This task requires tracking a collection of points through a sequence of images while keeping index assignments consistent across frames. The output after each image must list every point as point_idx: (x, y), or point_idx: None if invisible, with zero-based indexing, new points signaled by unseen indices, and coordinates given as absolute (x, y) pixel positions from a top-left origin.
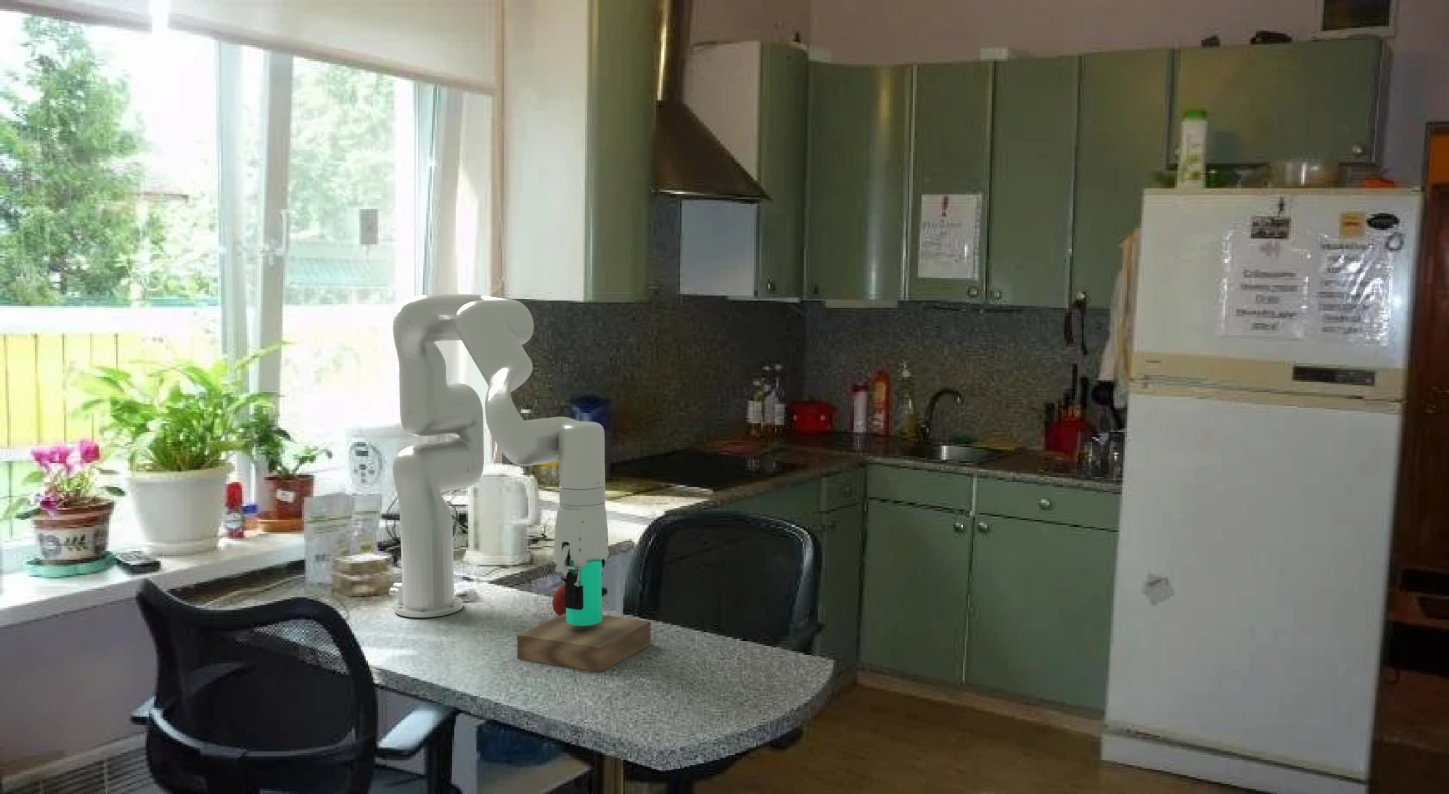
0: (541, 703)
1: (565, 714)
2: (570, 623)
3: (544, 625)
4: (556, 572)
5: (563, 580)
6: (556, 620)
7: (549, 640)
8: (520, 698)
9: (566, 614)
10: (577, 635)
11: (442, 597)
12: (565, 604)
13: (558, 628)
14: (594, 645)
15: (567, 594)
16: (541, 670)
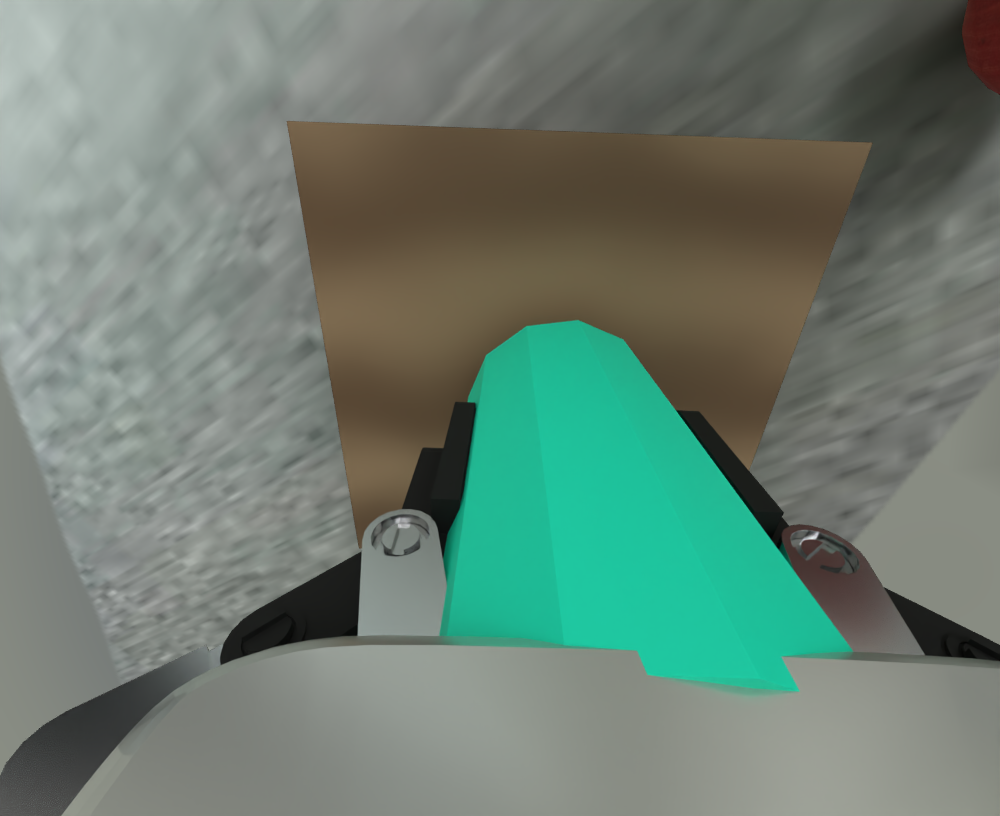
0: (94, 472)
1: (97, 548)
2: (474, 382)
3: (517, 171)
4: (68, 717)
5: (307, 588)
6: (636, 179)
7: (326, 343)
8: (68, 405)
9: (513, 348)
10: (442, 419)
11: None
12: (455, 407)
13: (499, 282)
14: (368, 525)
15: (412, 485)
16: (293, 322)
